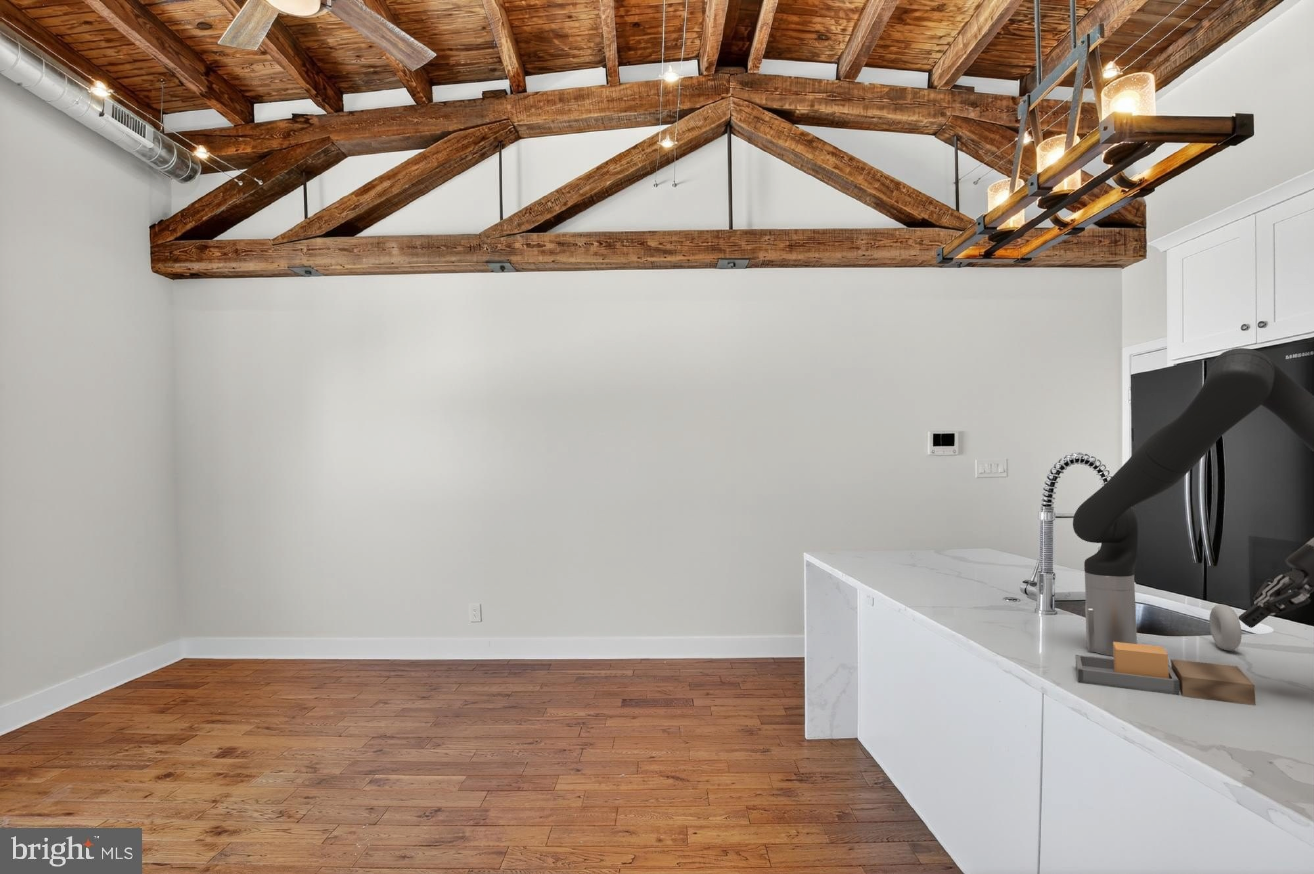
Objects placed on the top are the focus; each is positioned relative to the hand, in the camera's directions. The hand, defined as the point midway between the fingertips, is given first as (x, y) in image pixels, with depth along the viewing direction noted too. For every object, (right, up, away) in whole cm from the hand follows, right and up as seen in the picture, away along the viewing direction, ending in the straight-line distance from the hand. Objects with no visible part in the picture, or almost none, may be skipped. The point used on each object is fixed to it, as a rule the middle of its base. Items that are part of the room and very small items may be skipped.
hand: (1244, 623), depth 123 cm
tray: (-16, -13, +8) cm, 22 cm away
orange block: (-11, -10, +5) cm, 15 cm away
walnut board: (-5, -13, +2) cm, 14 cm away
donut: (+20, -14, +27) cm, 36 cm away
